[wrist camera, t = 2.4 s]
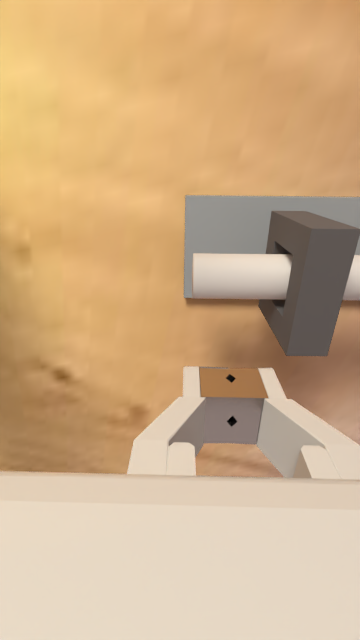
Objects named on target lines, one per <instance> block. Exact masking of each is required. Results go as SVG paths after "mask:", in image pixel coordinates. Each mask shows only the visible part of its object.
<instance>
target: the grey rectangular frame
mask: <svg viewBox="0 0 360 640" xmlns="http://www.w3.org/2000/svg"><path fill="white" fill-rule="evenodd" d="M359 236H360V229H359V228H356V227H353V226H350V225H347V224H344V223H341V222H338V221H335V220H332V219H329V218H326V217H322V216H319V215H316V214H313V213H310V212H307V211H271V218H270V225H269V233H268V240H267V247H266V254H293V261H292V266H291V272H290V278H289V283H288V289H287V294H286V299H259V308H260V310H261V311H262V313H263V315H264V317H265V319H266V320H267V322H268V324H269V326H270V327H271V329H272V331H273V333H274V334H275V336H276V338H277V340H278V342H279V343H280V345H281V347H282V349H283V350H284V352H285V354H286V356H327V355H328V351H329V347H330V344H331V340H332V336H333V332H334V329H335V325H336V321H337V318H338V314H339V310H340V307H341V303H342V299H343V295H344V292H345V288H346V284H347V281H348V277H349V273H350V270H351V266H352V262H353V258H354V255H355V251H356V247H357V244H358V240H359Z"/></svg>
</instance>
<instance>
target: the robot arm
mask: <svg viewBox="0 0 360 640" xmlns="http://www.w3.org/2000/svg"><path fill="white" fill-rule="evenodd" d="M203 443H237V444H257V447H258V448H259V449H260V450H261V451H262V452H263V454H264V455H265V456H266V457H267V458H268V459H269V460H270V462H271V463H272V464H273V465H274V466H275V467H276V468H277V470H278V471H279V472H280V473H281V474H282V475H283V476H284V477H285V478H277V477H235V476H196V467H195V457H196V456H197V454H198V452H199V451H200V449H201V448H202V446H203ZM0 640H360V445H358V444H357V443H356V442H354V441H353V440H351V439H350V438H348V437H347V436H345V435H344V434H342V433H341V432H339V431H338V430H336V429H335V428H333V427H332V426H330V425H329V424H327V423H326V422H325V421H323V420H322V419H320V418H319V417H317V416H316V415H314V414H313V413H311V412H310V411H308V410H307V409H305V408H304V407H302V406H301V405H299V404H298V403H296V402H295V401H294V400H292V399H287V398H286V396H285V393H284V391H283V389H282V387H281V385H280V382H279V380H278V378H277V376H276V374H275V371H274V369H272V368H221V367H196V366H184V368H183V397H178V398H177V399H176V400H175V401H174V402H173V403H172V404H171V405H170V406H169V407H168V408H167V409H166V410H164V411H163V412H162V413H161V414H160V415H159V416H158V417H157V418H156V419H155V420H154V421H153V422H152V423H151V424H150V425H149V426H148V427H147V428H146V429H145V430H144V431H143V432H142V433H141V434H140V435H139V436H138V437H137V438H136V439H135V440H134V442H133V447H132V452H131V457H130V462H129V466H128V471H127V474H112V473H72V472H32V471H0Z"/></svg>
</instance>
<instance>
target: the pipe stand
mask: <svg viewBox="0 0 360 640" xmlns="http://www.w3.org/2000/svg"><path fill="white" fill-rule="evenodd" d="M271 211H307V212H310V213H313V214H316V215H319V216H322V217H326V218H329V219H332V220H335V221H338V222H341V223H344V224H347V225H350V226H353V227H356V228H359V229H360V197H303V196H212V195H186V198H185V259H184V298H199V299H286V294H287V289H288V283H289V278H290V272H291V266H292V261H293V254H266V247H267V240H268V233H269V225H270V218H271ZM342 300H360V236H359V240H358V244H357V247H356V251H355V255H354V258H353V262H352V266H351V270H350V273H349V277H348V281H347V284H346V288H345V292H344V295H343V299H342Z"/></svg>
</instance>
